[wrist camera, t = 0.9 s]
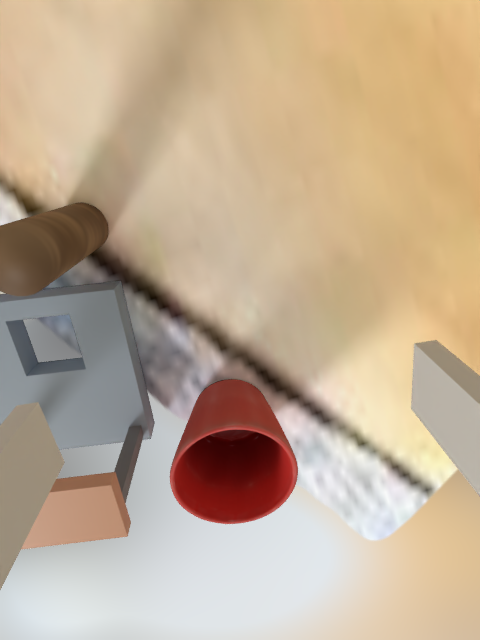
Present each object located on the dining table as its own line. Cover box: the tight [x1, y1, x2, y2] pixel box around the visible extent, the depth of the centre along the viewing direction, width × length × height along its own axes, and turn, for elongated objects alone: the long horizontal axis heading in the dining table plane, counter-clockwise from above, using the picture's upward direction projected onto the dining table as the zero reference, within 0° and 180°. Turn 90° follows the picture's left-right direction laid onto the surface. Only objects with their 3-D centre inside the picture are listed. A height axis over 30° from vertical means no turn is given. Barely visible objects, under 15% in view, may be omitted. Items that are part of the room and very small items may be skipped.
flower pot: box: [170, 379, 298, 524], centre depth 36 cm, size 11×11×10 cm
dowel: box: [0, 203, 108, 296], centre depth 26 cm, size 4×4×12 cm
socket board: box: [0, 281, 154, 549], centre depth 31 cm, size 16×14×13 cm
